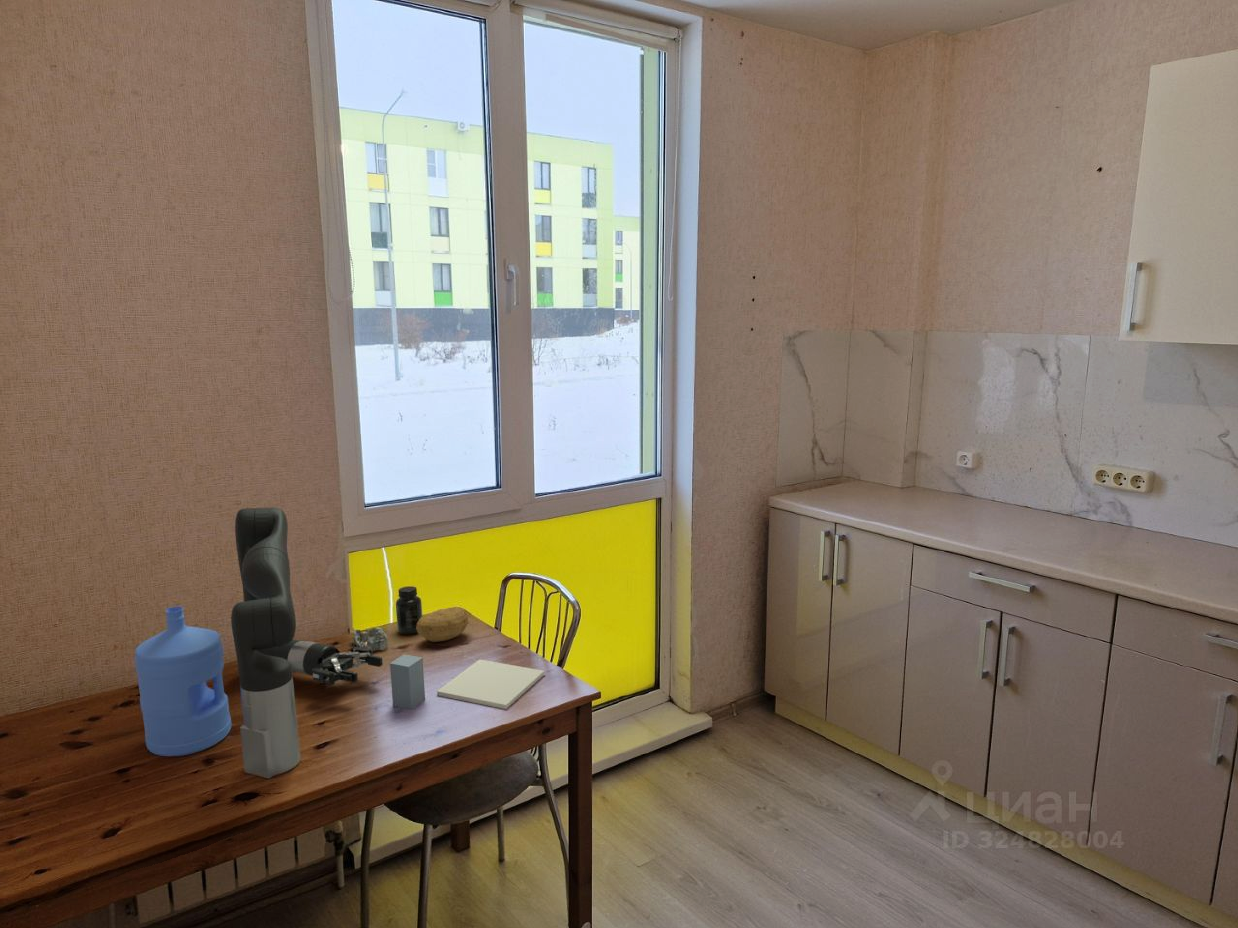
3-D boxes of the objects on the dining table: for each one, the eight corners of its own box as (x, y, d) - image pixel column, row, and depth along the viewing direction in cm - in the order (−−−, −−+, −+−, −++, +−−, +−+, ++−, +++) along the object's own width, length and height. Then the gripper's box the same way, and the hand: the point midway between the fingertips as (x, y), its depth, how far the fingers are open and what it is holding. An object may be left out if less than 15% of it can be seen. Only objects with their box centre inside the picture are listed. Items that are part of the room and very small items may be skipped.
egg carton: (351, 642, 213) (350, 627, 212) (380, 636, 217) (379, 621, 216) (360, 656, 204) (359, 641, 203) (390, 650, 208) (389, 635, 207)
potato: (410, 640, 213) (409, 611, 212) (459, 627, 221) (458, 600, 220) (425, 652, 205) (423, 623, 204) (475, 639, 213) (473, 610, 212)
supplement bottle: (426, 626, 223) (424, 584, 220) (418, 635, 216) (415, 593, 214) (402, 625, 223) (400, 584, 221) (393, 635, 217) (390, 592, 214)
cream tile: (506, 709, 176) (506, 704, 175) (437, 695, 182) (437, 691, 182) (544, 674, 192) (544, 670, 192) (479, 663, 199) (479, 659, 198)
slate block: (411, 709, 176) (408, 666, 174) (392, 705, 178) (389, 663, 176) (425, 699, 181) (422, 657, 179) (406, 695, 183) (404, 654, 181)
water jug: (136, 764, 156) (117, 628, 151) (158, 724, 171) (142, 600, 166) (223, 751, 160) (208, 619, 155) (238, 714, 175) (224, 592, 170)
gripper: (289, 655, 181) (346, 667, 175) (333, 632, 194) (388, 642, 188) (292, 686, 182) (349, 698, 176) (336, 661, 195) (390, 671, 189)
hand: (369, 669), depth 182 cm, fingers open, 8 cm apart
